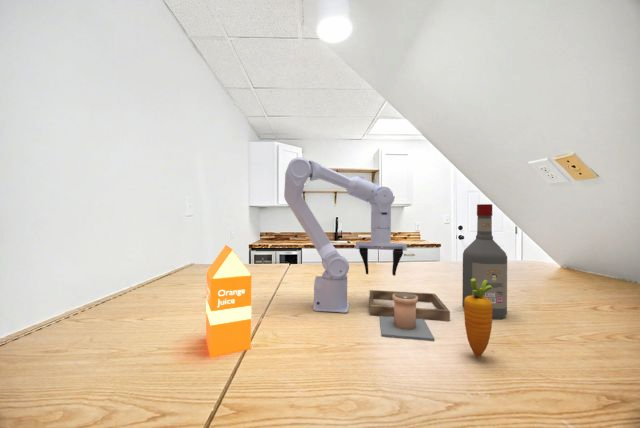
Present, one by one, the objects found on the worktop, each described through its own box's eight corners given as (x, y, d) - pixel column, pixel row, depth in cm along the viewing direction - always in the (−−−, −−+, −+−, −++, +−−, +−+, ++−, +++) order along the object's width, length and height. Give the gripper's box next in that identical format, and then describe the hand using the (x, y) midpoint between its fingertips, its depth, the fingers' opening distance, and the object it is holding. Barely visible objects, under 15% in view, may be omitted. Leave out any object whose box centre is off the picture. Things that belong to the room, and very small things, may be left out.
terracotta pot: (392, 329, 63) (393, 298, 63) (391, 319, 69) (391, 291, 69) (419, 331, 62) (419, 299, 62) (416, 321, 68) (416, 292, 68)
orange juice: (209, 357, 51) (210, 250, 51) (205, 338, 59) (206, 245, 59) (251, 348, 55) (252, 248, 55) (242, 331, 62) (243, 243, 62)
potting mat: (381, 336, 61) (381, 334, 61) (379, 318, 71) (379, 316, 71) (434, 340, 59) (434, 338, 59) (424, 321, 69) (424, 319, 69)
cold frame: (369, 315, 73) (369, 305, 73) (369, 297, 89) (369, 289, 89) (449, 321, 70) (449, 311, 70) (434, 301, 86) (434, 293, 86)
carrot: (484, 351, 54) (485, 275, 54) (498, 364, 49) (499, 281, 49) (458, 349, 55) (459, 274, 55) (469, 363, 50) (470, 280, 50)
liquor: (511, 319, 71) (512, 204, 71) (475, 319, 71) (476, 203, 71) (491, 307, 80) (491, 205, 80) (459, 307, 80) (459, 205, 81)
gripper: (404, 227, 83) (404, 272, 83) (356, 227, 86) (356, 270, 86) (407, 228, 76) (407, 277, 76) (355, 228, 79) (355, 275, 79)
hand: (380, 274), depth 81 cm, fingers open, 7 cm apart
